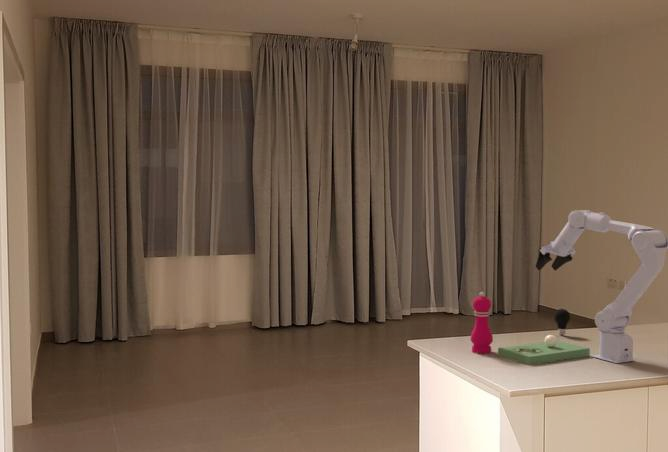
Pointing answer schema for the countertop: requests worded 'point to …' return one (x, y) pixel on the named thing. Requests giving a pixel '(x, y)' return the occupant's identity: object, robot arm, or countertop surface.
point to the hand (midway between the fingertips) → (545, 268)
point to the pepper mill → (481, 325)
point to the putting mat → (543, 352)
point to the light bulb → (562, 320)
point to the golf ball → (550, 341)
